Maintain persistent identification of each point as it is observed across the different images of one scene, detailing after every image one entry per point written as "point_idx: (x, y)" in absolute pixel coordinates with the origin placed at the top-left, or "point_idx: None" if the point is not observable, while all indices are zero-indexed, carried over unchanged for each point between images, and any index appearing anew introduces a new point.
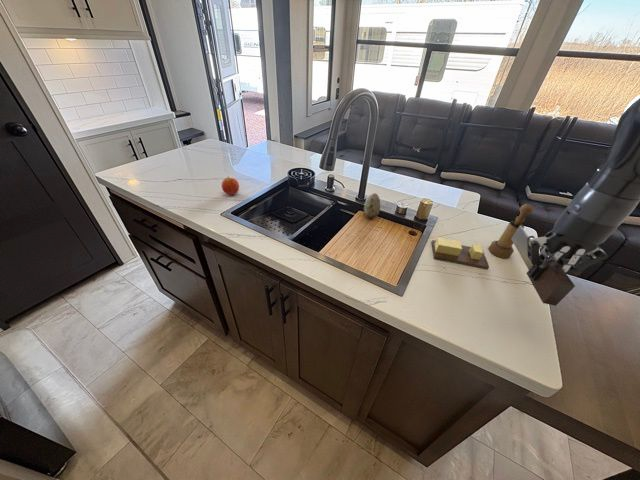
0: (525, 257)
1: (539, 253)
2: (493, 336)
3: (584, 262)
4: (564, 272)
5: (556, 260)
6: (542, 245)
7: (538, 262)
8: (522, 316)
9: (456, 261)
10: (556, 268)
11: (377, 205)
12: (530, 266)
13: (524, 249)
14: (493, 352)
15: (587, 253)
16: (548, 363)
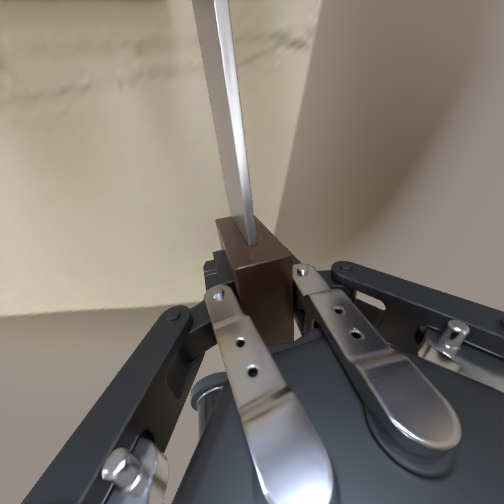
0: (216, 123)
1: (248, 192)
2: (189, 266)
3: (380, 334)
4: (290, 341)
5: (292, 284)
6: (164, 490)
7: (202, 356)
8: None
9: None
10: (270, 338)
11: None
12: (228, 193)
13: (209, 58)
14: (189, 292)
15: (427, 352)
16: None
